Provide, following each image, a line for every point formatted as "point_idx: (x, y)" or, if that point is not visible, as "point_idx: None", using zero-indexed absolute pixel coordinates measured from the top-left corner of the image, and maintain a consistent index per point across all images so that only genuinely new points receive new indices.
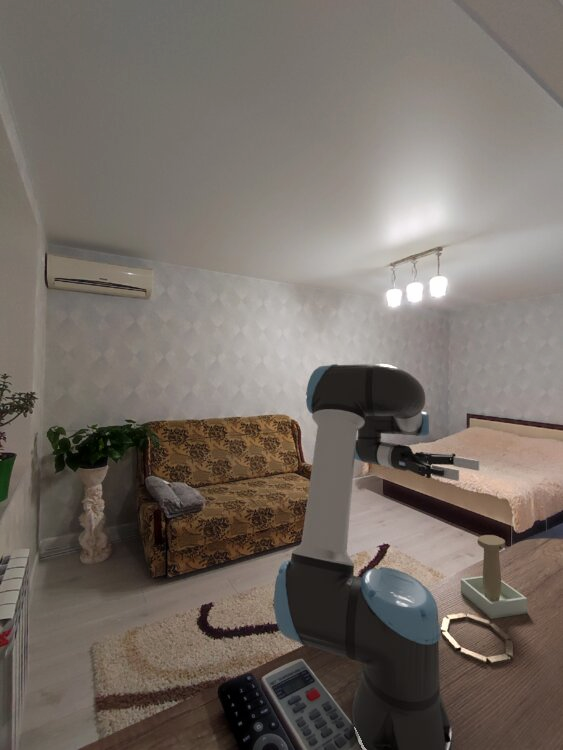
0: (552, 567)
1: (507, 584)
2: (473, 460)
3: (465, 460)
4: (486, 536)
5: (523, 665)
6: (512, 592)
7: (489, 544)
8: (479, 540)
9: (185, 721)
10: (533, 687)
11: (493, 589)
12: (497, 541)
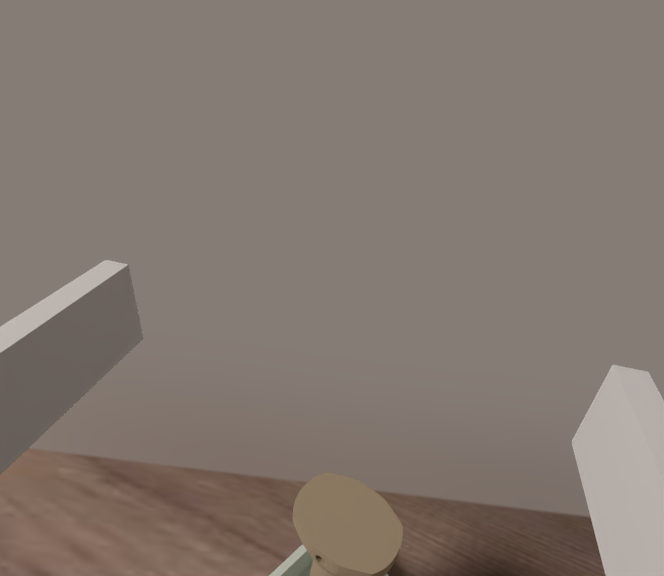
0: (56, 459)
1: (282, 564)
2: (102, 287)
3: (41, 345)
4: (320, 537)
5: (534, 561)
6: (304, 556)
7: (398, 524)
8: (385, 564)
9: None
10: (579, 547)
11: None
12: (348, 496)
